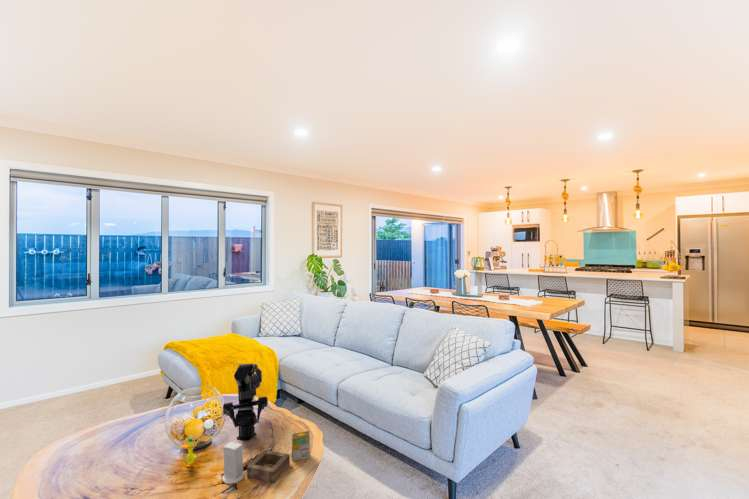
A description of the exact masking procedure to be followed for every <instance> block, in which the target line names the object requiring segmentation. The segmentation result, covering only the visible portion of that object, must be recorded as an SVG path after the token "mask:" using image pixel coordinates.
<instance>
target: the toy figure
mask: <svg viewBox="0 0 749 499" xmlns="http://www.w3.org/2000/svg"><path fill="white" fill-rule="evenodd" d="M193 438H194V437H193V436H189V437H188V439H187V443H186V444H182V445H180V446H179V448H180V449H181V450H187V452H188V454H187V456H186V462H187V464H186V466H185V468H187V467H189V468H192V467H193V465H194V464H193V463H194V461H195V460H196V458H197V455H195V453H193V450H194V449H195V445H194V439H193Z"/></svg>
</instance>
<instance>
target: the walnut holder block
mask: <svg viewBox="0 0 749 499" xmlns="http://www.w3.org/2000/svg"><path fill="white" fill-rule="evenodd" d="M290 457H291V456H290V454H289V453H284V452H279V451H273V450H267V449H263V450H262V452H260V453H259V454H258V455H257V456H256V458H254V459H253V460H252V461H251V462H250V463H249V464H248V465H247V466H246V478H247V479H248V480H249V479H250V480H255V481H260V482H265V483H269V484H275V483H276V482H277V481H278V479H279V478H280V477H282V475H283V474H284V473H285V471H286V470H287V469H288V468H289V467H290V466H291V464H290V462H291V460H290V459H291V458H290ZM266 465H270V466H272V467H268V466H266Z"/></svg>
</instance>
